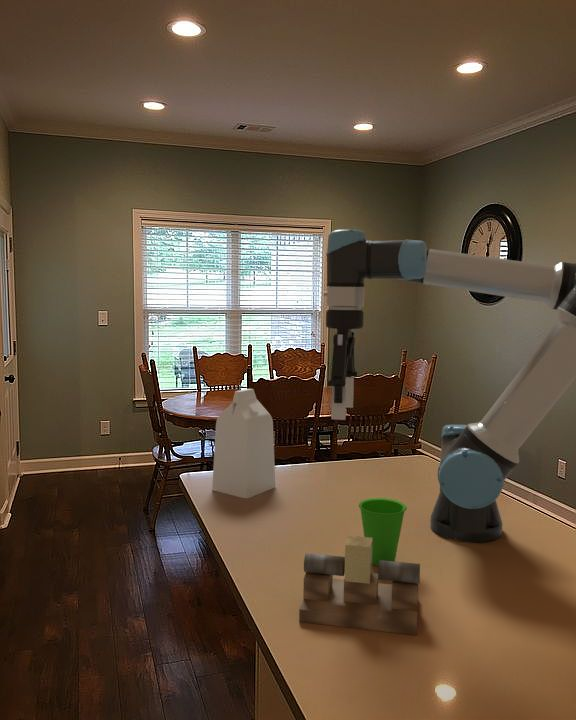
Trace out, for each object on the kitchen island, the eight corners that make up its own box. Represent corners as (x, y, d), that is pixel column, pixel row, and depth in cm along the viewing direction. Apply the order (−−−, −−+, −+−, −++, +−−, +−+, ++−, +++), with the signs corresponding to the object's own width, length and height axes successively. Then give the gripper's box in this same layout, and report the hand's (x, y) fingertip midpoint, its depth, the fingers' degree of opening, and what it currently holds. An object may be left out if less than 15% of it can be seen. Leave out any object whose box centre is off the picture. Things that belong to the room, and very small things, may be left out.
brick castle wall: (418, 598, 108) (420, 550, 108) (417, 635, 97) (419, 581, 96) (311, 587, 112) (311, 540, 111) (297, 621, 100) (298, 569, 100)
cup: (393, 575, 117) (395, 516, 116) (349, 563, 122) (350, 507, 121) (412, 558, 125) (413, 503, 124) (369, 548, 130) (370, 495, 129)
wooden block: (371, 573, 105) (372, 537, 105) (369, 583, 102) (370, 547, 101) (347, 570, 106) (348, 535, 106) (344, 581, 102) (345, 544, 102)
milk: (241, 479, 176) (242, 385, 174) (275, 487, 170) (276, 389, 167) (212, 490, 167) (211, 390, 164) (246, 498, 160) (246, 395, 157)
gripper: (334, 307, 142) (332, 402, 144) (316, 309, 118) (314, 424, 120) (368, 307, 140) (366, 403, 143) (357, 310, 116) (354, 426, 118)
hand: (342, 413), depth 131 cm, fingers open, 13 cm apart
